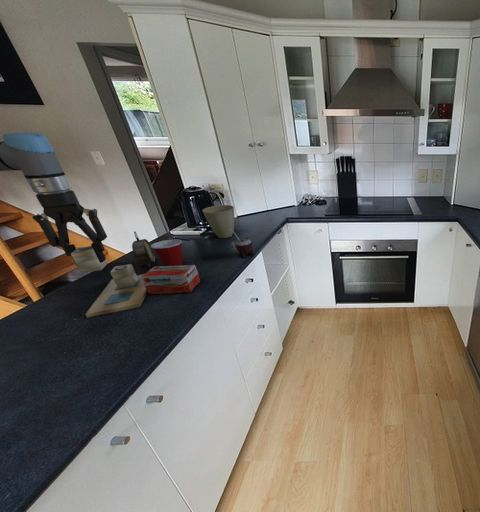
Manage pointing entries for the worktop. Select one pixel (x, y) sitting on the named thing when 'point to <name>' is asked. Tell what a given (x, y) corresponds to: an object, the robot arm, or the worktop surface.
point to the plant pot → (220, 219)
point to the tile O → (124, 276)
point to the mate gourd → (243, 246)
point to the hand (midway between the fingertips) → (91, 262)
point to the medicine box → (171, 279)
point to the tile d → (87, 259)
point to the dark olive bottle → (143, 251)
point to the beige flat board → (118, 298)
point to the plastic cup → (169, 252)
